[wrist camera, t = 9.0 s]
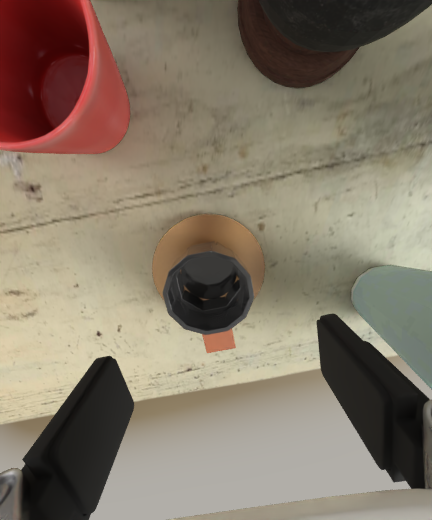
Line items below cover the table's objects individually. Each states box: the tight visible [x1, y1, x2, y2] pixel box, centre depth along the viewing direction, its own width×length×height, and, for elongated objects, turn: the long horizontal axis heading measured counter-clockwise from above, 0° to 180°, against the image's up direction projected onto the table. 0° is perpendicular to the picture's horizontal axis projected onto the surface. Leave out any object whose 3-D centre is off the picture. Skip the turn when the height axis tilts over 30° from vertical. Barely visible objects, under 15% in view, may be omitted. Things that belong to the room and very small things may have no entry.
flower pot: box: [0, 0, 130, 154], centre depth 15 cm, size 11×11×10 cm
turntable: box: [152, 214, 265, 300], centre depth 23 cm, size 12×12×1 cm
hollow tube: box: [162, 241, 254, 353], centre depth 20 cm, size 9×7×6 cm
